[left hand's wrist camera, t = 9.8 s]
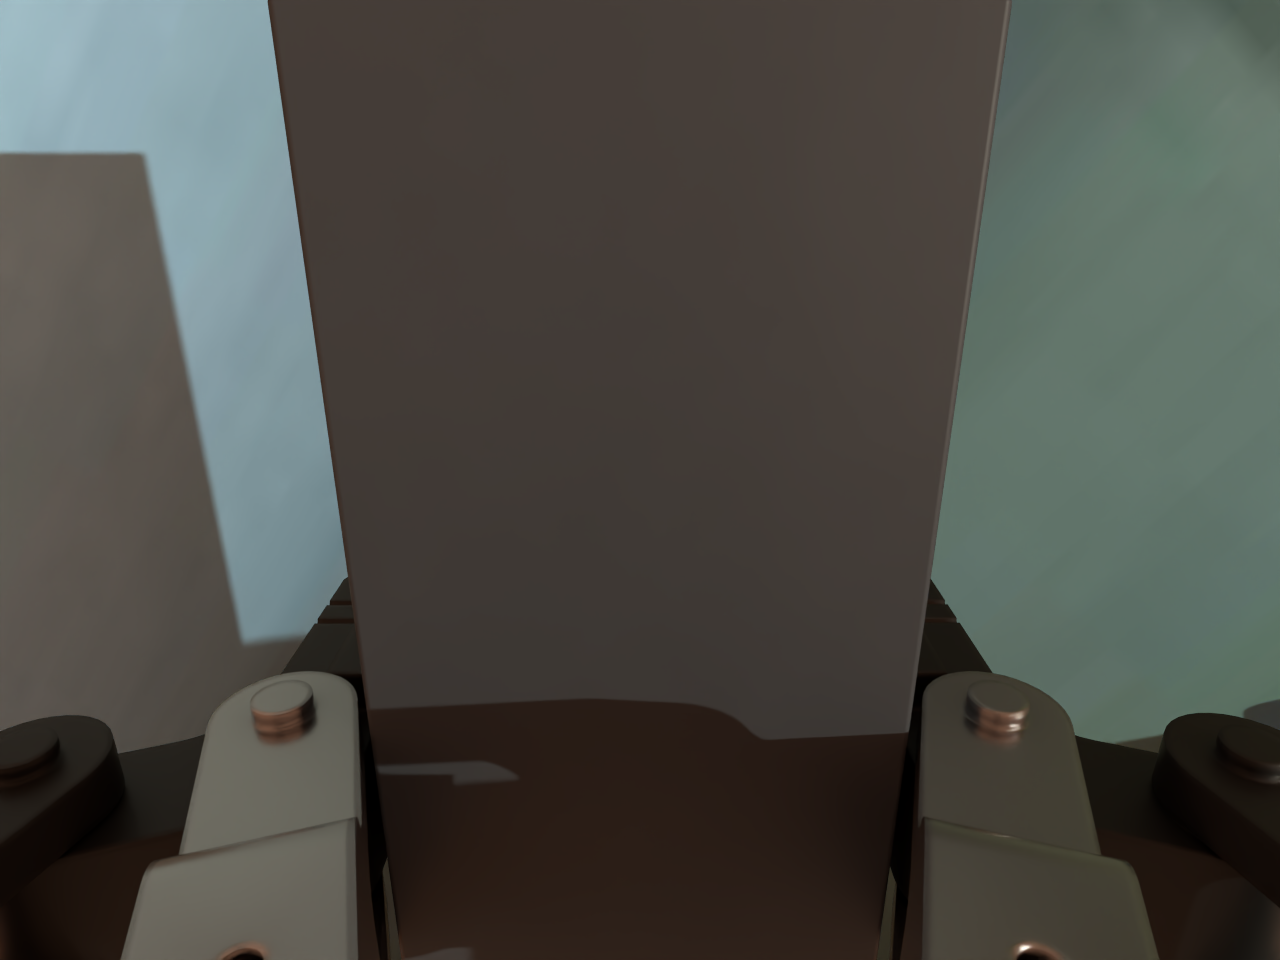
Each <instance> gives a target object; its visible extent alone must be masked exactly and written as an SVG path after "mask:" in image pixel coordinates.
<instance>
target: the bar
mask: <svg viewBox="0 0 1280 960" xmlns="http://www.w3.org/2000/svg"><path fill="white" fill-rule="evenodd" d="M1011 6H1012V0H268V8H269V15H270V22H271V29H272V36H273V43H274V50H275V58H276V65H277V72H278V79H279V86H280V93H281V100H282V108H283V115H284V122H285V129H286V136H287V143H288V151H289V158H290V165H291V172H292V179H293V186H294V193H295V201H296V208H297V215H298V222H299V229H300V236H301V243H302V251H303V258H304V265H305V272H306V279H307V286H308V293H309V301H310V308H311V315H312V322H313V329H314V336H315V343H316V351H317V358H318V365H319V372H320V379H321V386H322V394H323V401H324V408H325V415H326V422H327V429H328V436H329V444H330V451H331V458H332V465H333V472H334V479H335V486H336V494H337V501H338V508H339V515H340V522H341V529H342V536H343V544H344V551H345V558H346V565H347V572H348V579H349V587H350V594H351V601H352V608H353V615H354V622H355V629H356V637H357V644H358V651H359V658H360V665H361V672H362V679H363V687H364V694H365V701H366V708H367V715H368V722H369V729H370V737H371V744H372V751H373V758H374V765H375V772H376V780H377V787H378V794H379V801H380V808H381V815H382V822H383V830H384V837H385V844H386V851H387V858H388V865H389V872H390V880H391V887H392V894H393V901H394V908H395V915H396V922H397V930H398V937H399V944H400V951H401V958H402V960H877V953H878V946H879V939H880V932H881V925H882V918H883V911H884V904H885V897H886V890H887V883H888V876H889V869H890V862H891V854H892V847H893V840H894V833H895V826H896V819H897V812H898V805H899V798H900V791H901V784H902V777H903V770H904V763H905V755H906V748H907V741H908V734H909V727H910V720H911V713H912V706H913V699H914V692H915V685H916V678H917V671H918V664H919V656H920V649H921V642H922V635H923V628H924V621H925V614H926V607H927V600H928V593H929V586H930V579H931V572H932V565H933V557H934V550H935V543H936V536H937V529H938V522H939V515H940V508H941V501H942V494H943V487H944V480H945V473H946V466H947V458H948V451H949V444H950V437H951V430H952V423H953V416H954V409H955V402H956V395H957V388H958V381H959V374H960V367H961V360H962V352H963V345H964V338H965V331H966V324H967V317H968V310H969V303H970V296H971V289H972V282H973V275H974V268H975V261H976V253H977V246H978V239H979V232H980V225H981V218H982V211H983V204H984V197H985V190H986V183H987V176H988V169H989V162H990V154H991V147H992V140H993V133H994V126H995V119H996V112H997V105H998V98H999V91H1000V84H1001V77H1002V70H1003V63H1004V55H1005V48H1006V41H1007V34H1008V27H1009V20H1010V13H1011Z"/></svg>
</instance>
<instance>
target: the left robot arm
mask: <svg viewBox="0 0 1280 960" xmlns="http://www.w3.org/2000/svg"><path fill="white" fill-rule="evenodd" d="M386 859H387V851H386V844H385V837H384V830H383V822H382V815H381V808H380V801H379V794H378V787H377V780H376V772H375V765H374V758H373V751H372V744H371V737H370V729H369V722H368V715H367V708H366V701H365V694H364V687H363V679H362V672H361V665H360V658H359V651H358V644H357V637H356V629H355V622H354V615H353V608H352V601H351V594H350V587H349V579H348V577H347V578H346V579H344V580H343V582H342V583H341V585H340V586H339V588H338V589H337V591H336V592H335V594H334V595H333V597H332V598H331V600H330V605H327V606H326V607H325V609H324V610H323V612H322V613H321V615H320V616H319V618H318V624H314V625H313V627H312V628H311V630H310V631H309V633H308V634H307V636H306V637H305V639H304V640H303V642H302V643H301V645H300V646H299V648H298V649H297V651H296V652H295V654H294V655H293V657H292V658H291V660H290V661H289V663H288V664H287V666H286V667H285V669H284V670H283V672H282V673H281V675H276V676H273V677H269V678H266V679H263V680H260V681H258V682H255V683H253V684H251V685H249V686H247V687H245V688H243V689H241V690H239V691H237V692H236V693H234V694H233V695H231V696H230V697H229V698H227V699H226V700H225V701H224V702H222V703H221V704H220V705H219V707H218V708H217V709H216V710H215V711H214V713H213V714H212V716H211V717H210V720H209V722H208V725H207V729H206V734H204V735H201V736H198V737H195V738H192V739H188V740H183V741H179V742H175V743H170V744H165V745H160V746H155V747H150V748H145V749H140V750H135V751H130V752H125V753H120V754H118V753H117V749H116V745H115V742H114V738H113V735H112V732H111V730H110V728H109V727H108V726H107V725H106V724H105V723H103V722H102V721H100V720H98V719H95V718H92V717H87V716H79V715H65V716H54V717H48V718H42V719H37V720H34V721H30V722H26V723H22V724H19V725H16V726H13V727H10V728H8V729H5V730H3V731H0V960H391V953H390V938H389V922H388V907H387V898H386V891H385V884H384V877H383V867H384V865H385V862H386ZM890 868H891V870H892V873H893V876H894V879H895V881H896V884H895V891H894V898H893V907H892V922H891V938H890V953H889V960H1280V731H1279V730H1277V729H1274V728H1272V727H1270V726H1267V725H1264V724H1261V723H1258V722H1255V721H1252V720H1248V719H1244V718H1241V717H1236V716H1231V715H1225V714H1216V713H1195V714H1187V715H1184V716H1181V717H1178V718H1176V719H1174V720H1173V721H1171V722H1170V723H1169V724H1168V725H1167V726H1166V729H1165V731H1164V735H1163V738H1162V742H1161V745H1160V749H1159V753H1154V752H1149V751H1144V750H1139V749H1134V748H1129V747H1124V746H1119V745H1114V744H1110V743H1105V742H1100V741H1095V740H1091V739H1086V738H1082V737H1079V736H1076V735H1075V734H1074V729H1073V725H1072V722H1071V720H1070V717H1069V716H1068V714H1067V713H1066V711H1065V710H1064V709H1063V708H1062V707H1061V706H1060V704H1059V703H1058V702H1056V701H1055V700H1054V699H1053V698H1051V697H1050V696H1049V695H1047V694H1046V693H1044V692H1043V691H1041V690H1039V689H1037V688H1035V687H1033V686H1031V685H1029V684H1027V683H1025V682H1022V681H1020V680H1017V679H1014V678H1011V677H1007V676H1004V675H999V674H994V673H992V671H991V670H990V668H989V667H988V665H987V664H986V662H985V661H984V659H983V658H982V656H981V655H980V653H979V652H978V650H977V649H976V647H975V645H974V644H973V642H972V641H971V639H970V638H969V636H968V635H967V633H966V632H965V630H964V629H963V627H962V626H961V624H960V623H957V621H956V617H955V615H954V614H953V612H952V610H951V609H950V607H949V606H948V604H945V600H944V598H943V597H942V595H941V594H940V592H939V591H938V589H937V588H936V586H935V585H934V583H933V582H932V580H931V579H930V586H929V593H928V600H927V607H926V614H925V621H924V628H923V635H922V642H921V649H920V656H919V664H918V671H917V678H916V685H915V692H914V699H913V706H912V713H911V720H910V727H909V734H908V741H907V748H906V755H905V763H904V770H903V777H902V784H901V791H900V798H899V805H898V812H897V819H896V826H895V833H894V840H893V847H892V854H891V862H890Z"/></svg>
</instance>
